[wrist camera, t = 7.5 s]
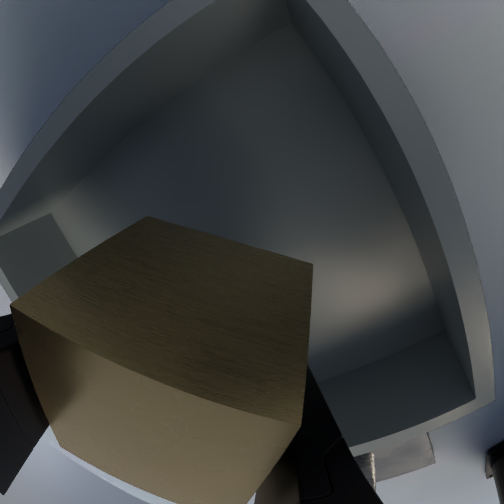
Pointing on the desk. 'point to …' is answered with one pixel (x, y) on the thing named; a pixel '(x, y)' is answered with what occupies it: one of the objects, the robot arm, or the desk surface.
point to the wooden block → (172, 359)
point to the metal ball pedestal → (396, 459)
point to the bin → (275, 194)
